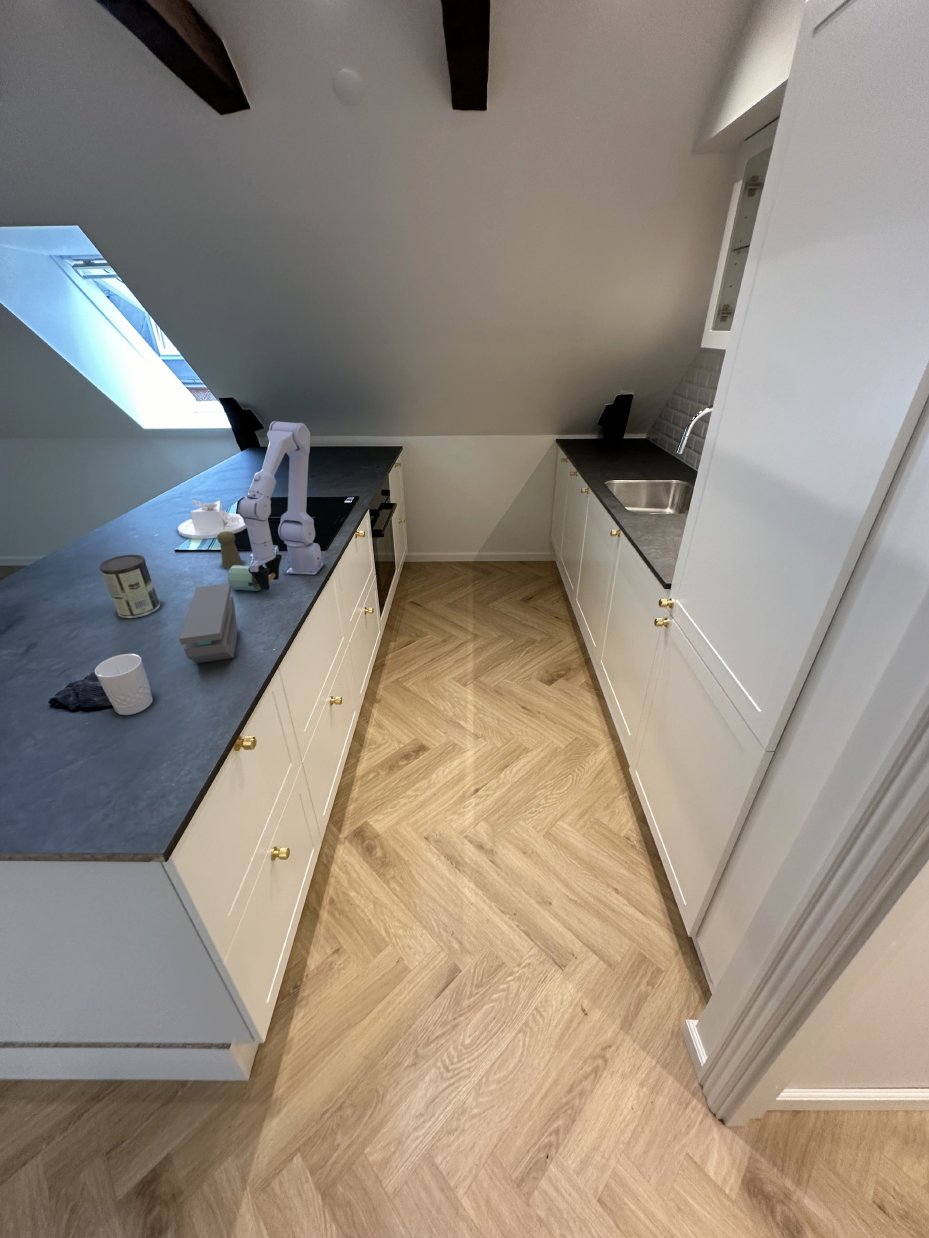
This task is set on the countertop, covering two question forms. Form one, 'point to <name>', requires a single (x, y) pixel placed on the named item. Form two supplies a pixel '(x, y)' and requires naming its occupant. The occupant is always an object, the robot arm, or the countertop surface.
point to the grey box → (210, 625)
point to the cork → (228, 550)
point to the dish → (210, 522)
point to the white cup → (125, 683)
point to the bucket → (244, 579)
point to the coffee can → (130, 585)
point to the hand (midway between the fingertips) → (270, 584)
